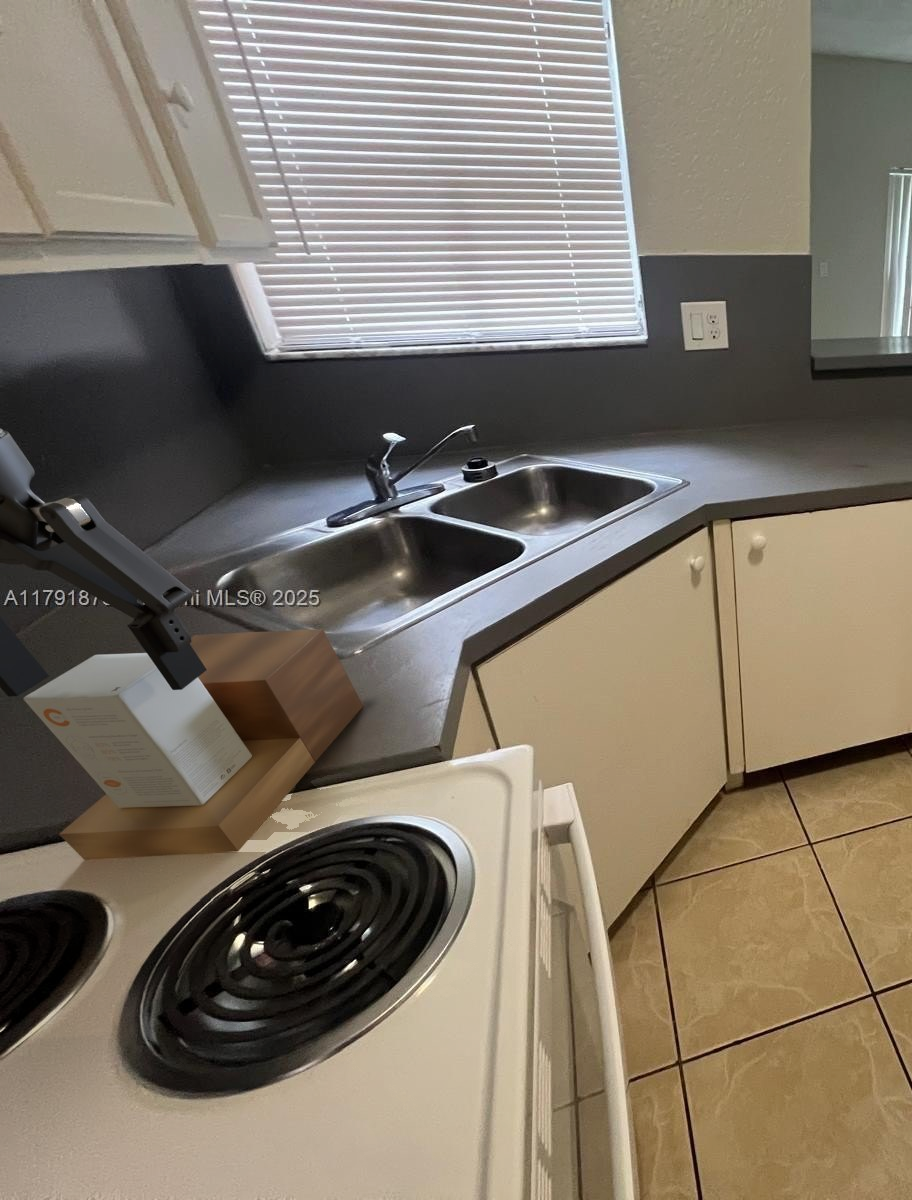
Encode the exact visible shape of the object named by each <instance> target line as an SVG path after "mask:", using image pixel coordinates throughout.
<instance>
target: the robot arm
mask: <svg viewBox="0 0 912 1200" xmlns="http://www.w3.org/2000/svg"><path fill="white" fill-rule="evenodd" d="M35 475H36V473H35V469H34V467H33V466H32V464H31V462H30V461H29V460H28V459H27V457H26V455H25V454H24V453H23V451H22V449H21V448H20V447H19V445H18V444H17V442H16V440H14V438H13V436H12V435H11V434H10V432H9V431H7V430H3V428H1V427H0V563H1V564H5V565H13V566H14V565H25V566H27V567H28V568H29V569H32V570H35V571H47V572H50V573H52V574H54V575H55V576H57V577H59V578H61V579H62V580H64V581H66V582H68V583H69V584H71V585H72V586H75V587H77V588H79V589H80V590H82V591H84V592H86V593H87V594H89V595H91V596H93V597H94V598H96V599H98V600H100V601H102V602H103V603H105V604H107V605H109V606H111V607H112V608H114V609H116V610H117V611H120V612H121V613H123V614H125V615H126V616H129V618H132V619H133V620H132V622H130V623H128V624H127V627H128V629H129V630H130V632H131V633H132V635H133V636H134V638H136V640H137V642H138V643H139V644H140V646H141V647H142V649H143V650H144V651H145V653H147V654H148V656H149V657H150V658H151V660H152V661H153V663H154V664H155V666H156V667H157V668H158V670H159V671H160V673H161V674H162V676H163V677H164V678H165V680H166V681H167V683H168V684H169V685H170V687H171V688H172V690H182V689H183V688H185V687H186V686H187V685H188V684H190V683H191V682H192V681H194V680H195V679H196V678H197V677H199V676H200V675H201V674H202V673H204V672H205V671H206V670H207V669H206V668H205V666H204V665H203V663H202V662H201V660H200V658H199V657H198V655H197V654H196V652H195V651H194V649H193V648H192V646H191V645H190V643H191V642H192V641H191V637H192V636H191V634H189V631H187V628H186V627H185V626H184V624H183V623H182V621H181V619H180V618H179V616H178V615H177V613H176V610H175V609H177V608H179V607H180V606H181V605H184V604H185V603H186V602H188V601H190V600H192V599H193V597H194V593H193V592H192V590H191V589H190V588H188V587H187V586H186V585H185V584H183V582H181V581H180V580H179V579H177V578H176V577H175V576H174V575H172V574H171V573H170V572H169V571H168V570H166V569H165V568H164V567H163V566H162V565H160V564H159V563H158V562H156V561H155V559H153V558H152V557H150V556H149V555H148V554H146V553H145V552H144V551H143V550H142V549H140V548H139V546H137V545H136V544H134V543H133V542H132V541H130V539H128V538H127V537H126V536H125V535H123V534H122V533H121V532H119V531H118V530H117V529H116V528H115V527H113V526H112V525H111V524H110V523H109V522H107V521H106V520H105V518H103V516H102V514H100V512H99V511H98V510H97V508H96V507H95V506H94V505H93V503H92V502H91V501H90V500H89V498H87V496H85V495H83V494H80V493H74V494H72V495H69V496H66V497H64V498H61V499H58V500H56V501H51V502H45V501H43V500H42V499H41V498H40V497H39V496H38V495H36V494H35V493H34V492H33V491H32V489H31V487H30V484H31V481H32V479H33V478H34V476H35ZM53 542H55V543H56V545H53V546H52V544H53ZM139 601H140V602H142V604H141V603H140V602H139ZM47 678H50V675H49V673H48V672H47V671H46V669H45V668H44V667H43V666H42V665H41V664H40V662H39V661H38V660H37V659H36V658H35V656H34V655H33V654H32V653H31V652H30V650H29V649H28V648H27V646H26V645H25V644H24V643H23V642H22V640H21V639H20V638H19V637H18V636H17V634H16V633H15V632H14V630H12V628H11V627H10V626H9V624H8V623H6V621H5V620H4V619H3V617H2V616H1V615H0V689H1V690H2V691H3V692H4V694H5V695H6V696H7V697H9V698H11V697H19V696H20V695H22V694H24V693H25V692H27V691H29V690H30V689H32V688H33V687H35V686H36V685H38V684H40V683H41V682H43V681H44V680H46V679H47Z"/></svg>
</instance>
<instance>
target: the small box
mask: <svg viewBox="0 0 912 1200" xmlns="http://www.w3.org/2000/svg"><path fill="white" fill-rule="evenodd" d="M23 701H24V703H26V704H27V705H28V707H29V708H30V709H31V710H32V711H33V712H34V714H36V716H37V717H38V718H39V719H40V720H41V721H42V722H43V724H44V725H45V726H46V727H47V728H48V729H49V730H50V732H51V733H52V734H53V735H54V736H55V738H56V739H57V740H59V742H60V744H62V745H63V747H64V748H65V749H66V750H67V751H68V753H70V754H71V756H72V757H73V758H74V759H75V760H76V761H77V762H78V763H79V765H80V766H81V767H82V768H83V769H84V770H85V771H86V772H87V774H88V775H89V776H90V777H91V778H92V779H93V781H94V782H95V783H96V784H97V785H98V787H100V788H101V789H102V791H103V792H104V793H105V795H106V794H107V795H108V796H109V797H110V799H111V800H112V801H113V802H114V803H115V804H116V806H117V807H118V808H133V807H166V806H201V805H203V804H204V803H205V802H206V801H207V800H208V799H210V798H211V797H212V796H213V795H214V794H215V793H216V792H217V791H218V790H219V789H220V788H221V787H222V786H223V785H224V784H225V783H226V782H227V781H228V780H229V779H230V778H231V777H232V776H233V775H234V774H235V773H236V772H237V771H238V770H239V769H240V768H241V767H242V766H243V765H244V764H245V763H246V762H247V761H248V760H249V759H250V758H251V757H252V755H251V753H250V752H249V750H248V749H247V747H246V746H245V744H244V743H243V742H242V740H241V739H240V737H239V736H238V734H237V733H236V731H235V730H234V729H233V727H232V726H231V724H230V723H229V721H228V720H227V718H226V717H225V716H224V714H223V713H222V711H221V710H220V708H219V707H218V706H217V704H216V703H215V701H214V700H213V698H212V697H211V695H210V694H209V692H208V691H207V690H206V688H205V687H204V685H203V684H202V682H201V681H200V680H199V678H198V677H197V678H196V679H195V680H194V681H192V682H191V683H190V684H188V685H187V686H186V687H185V688H183V689H182V690H172V688H171V687H170V685H169V684H168V683H167V681H166V680H165V678H164V677H163V676H162V674H161V673H160V671H159V670H158V668H157V667H156V666H155V664H154V663H153V661H152V660H151V658H150V657H149V656H148V654H147V653H146V652H135V653H111V654H110V653H109V654H108V653H107V654H94V655H92V656H90V657H89V658H88V659H86V660H84V661H82V662H80V663H79V664H77V665H76V666H74V667H73V668H71V669H69V670H67V671H65V672H64V673H62V674H61V675H59V676H57V677H56V678H54V679H52V680H50V681H49V682H47V683H46V684H44V685H42V686H40V687H39V688H37V689H35V690H34V691H32V692H30V693H29V694H27V695H25V696H24V697H23Z"/></svg>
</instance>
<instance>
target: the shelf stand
mask: <svg viewBox="0 0 912 1200" xmlns="http://www.w3.org/2000/svg"><path fill="white" fill-rule="evenodd" d="M191 641H192V642H191V643H190V645H191V646H192V648H193V649H194V651H195V652H196V654H197V655H198V657H199V658H200V660H201V662H202V663H203V665H204V666H205V668H206V669H207V670H206V671H205V672H204V673H202V674H201V675H200V676H199V677H198V678H199V680H200V681H201V682H202V684H203V685H204V687H205V688H206V690H207V691H208V692H209V694H210V695H211V697H212V698H213V700H214V701H215V703H216V704H217V706H218V707H219V708H220V710H221V711H222V713H223V714H224V716H225V717H226V718H227V720H228V721H229V723H230V724H231V726H232V727H233V729H234V730H235V731H236V733H237V734H238V736H239V737H240V739H241V740H242V742H243V743H244V744H245V746H246V747H247V749H248V750H249V752H250V753H251V755H252V757H251V758H250V759H249V760H248V761H247V762H246V763H245V764H244V765H243V766H242V767H241V768H240V769H239V770H238V771H237V772H236V773H235V774H234V775H233V776H232V777H231V778H230V779H229V780H228V781H227V782H226V783H225V784H224V785H223V786H222V787H221V788H220V789H219V790H218V791H217V792H216V793H215V794H214V795H213V796H212V797H211V798H210V799H208V800H207V801H206V802H205V803H204V804H203V805H201V806H166V807H133V808H118V807H117V806H116V804H115V803H114V802H113V801H112V800H111V799H110V797H109V796H108V795H107V794H106V793H105V794H104V795H103V796H102V797H100V799H99V800H96V802H95V803H94V804H92V806H90V807H89V808H88V809H86V810H85V811H84V812H83V813H82V814H81V815H80V816H78V817H77V818H76V819H74V821H73V822H71V823H70V824H69V825H67V826H66V827H65V828H64V829H63V830H62V831H60V832H59V833H58V835H59V836H60V837H61V838H62V839H63V840H64V841H65V842H66V843H67V844H68V845H69V846H70V848H72V849H73V850H74V851H75V852H76V853H77V855H78V856H79V857H81V858H82V859H83V860H98V859H99V860H100V859H121V858H139V857H141V858H143V857H158V856H159V857H161V856H179V855H198V854H199V855H200V854H217V853H219V854H220V853H238V852H239V851H240V850H241V849H242V848H243V847H244V845H246V843H247V842H248V841H249V840H250V839H251V837H252V836H253V835H254V834H255V833H256V831H257V830H258V829H260V827H261V826H262V825H263V823H264V822H265V821H266V820H267V819H268V818H269V817H270V815H271V814H272V813H273V812H274V811H275V810H276V809H277V807H278V806H279V805H280V804H281V803H282V801H283V800H284V799H285V798H287V796H288V795H289V793H290V792H291V791H292V790H293V789H294V787H296V785H297V784H298V783H299V782H300V781H301V779H302V778H303V777H304V776H305V774H306V773H308V771H309V770H310V769H311V768H312V766H313V765H314V764H315V763H316V762H317V760H319V758H320V757H321V756H322V755H323V754H324V753H325V751H326V750H328V748H329V747H330V745H332V743H333V742H334V741H335V740H336V739H337V737H338V736H339V735H340V734H341V733H342V732H343V731H344V729H346V727H348V725H349V724H350V722H351V721H352V720H353V719H354V718H355V716H356V715H357V714H358V713H359V712H360V711H361V710H362V708H363V707H364V704H363V703H362V700H361V698H360V696H359V694H358V693H357V691H356V688H355V687H354V685H353V683H352V681H351V679H350V677H349V675H348V674H347V671H346V670H345V668H344V666H343V664H342V662H341V660H340V658H339V657H338V654H337V652H336V651H335V648H334V646H333V645H332V643H331V641H330V639H329V637H328V635H327V633H326V631H325V630H324V628H310V629H309V628H307V629H290V630H289V629H287V630H271V631H270V630H269V631H249V632H231V633H212V634H211V633H209V634H194V635H193V636H191Z"/></svg>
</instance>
